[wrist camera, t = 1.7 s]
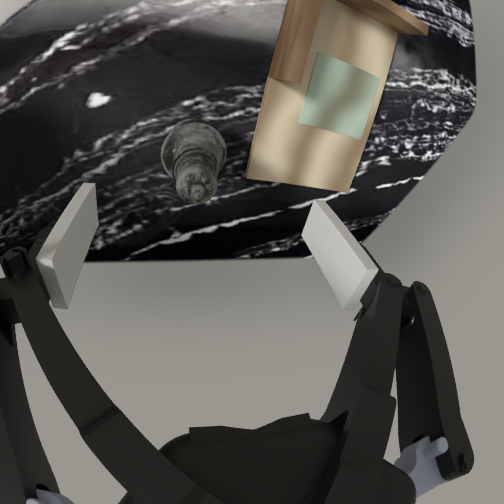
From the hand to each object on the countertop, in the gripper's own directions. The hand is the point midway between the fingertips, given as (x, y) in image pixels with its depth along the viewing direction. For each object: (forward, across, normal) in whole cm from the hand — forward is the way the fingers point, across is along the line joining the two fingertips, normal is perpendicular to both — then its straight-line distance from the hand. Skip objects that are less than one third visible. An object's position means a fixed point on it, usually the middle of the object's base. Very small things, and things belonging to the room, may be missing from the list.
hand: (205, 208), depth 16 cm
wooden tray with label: (+14, +12, +8) cm, 20 cm away
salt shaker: (+14, -1, 0) cm, 14 cm away
